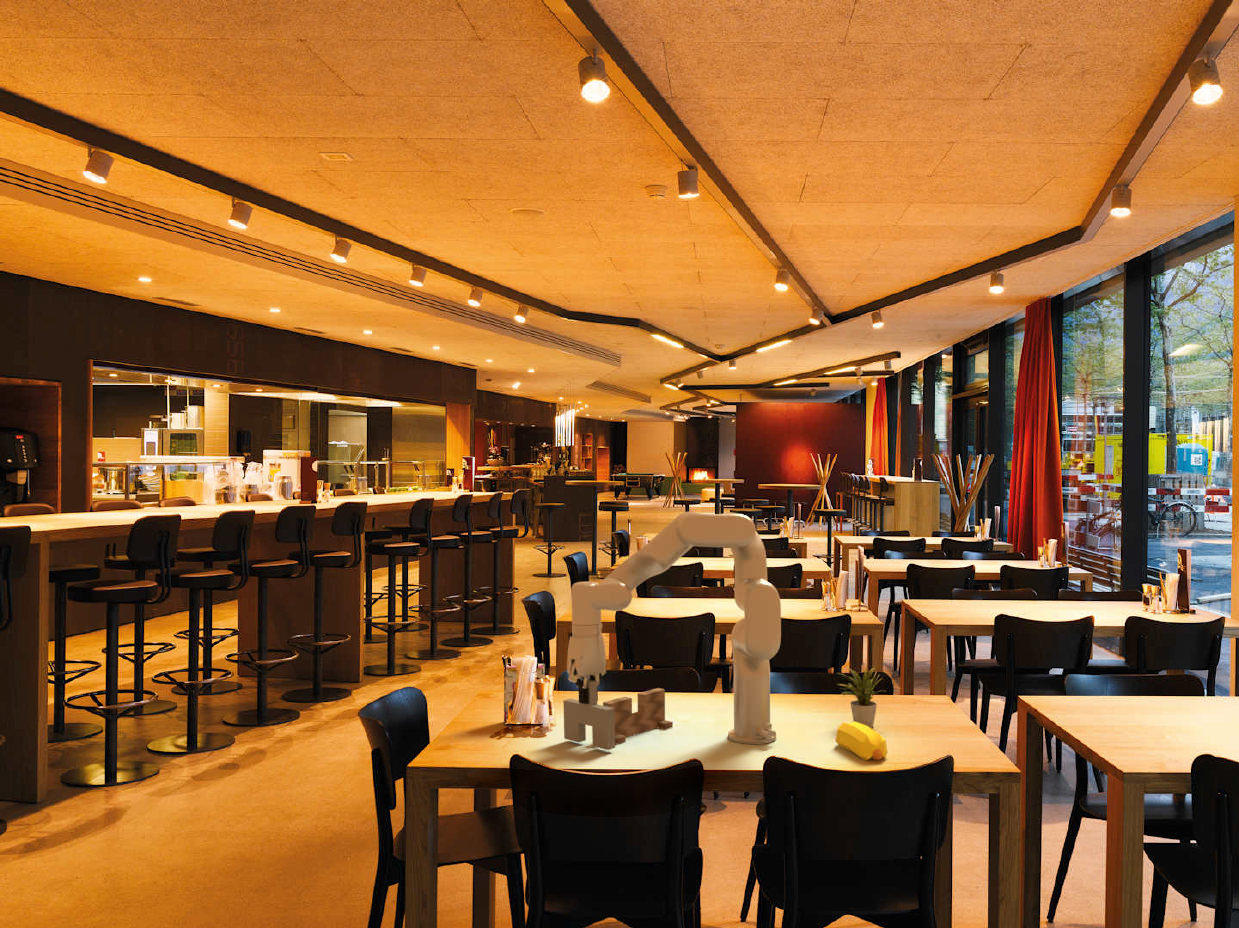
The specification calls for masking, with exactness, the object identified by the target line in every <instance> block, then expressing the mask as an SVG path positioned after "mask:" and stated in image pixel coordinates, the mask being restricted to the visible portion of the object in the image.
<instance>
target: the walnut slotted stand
mask: <svg viewBox="0 0 1239 928" xmlns="http://www.w3.org/2000/svg"><path fill="white" fill-rule="evenodd" d="M665 695H666V690H665V689H664V688H660V687H657V688H652V689H650V690H649V689H648V690H646V691H642V692H639V693H637V711H635V712H633V698H632V697H630V696H629V697H628V696H622V697H618V698H615V699H611V700H605V701H603V702H602V706H607V707H611V708H614V720H615V745H619V744H622V743H623V744H624V743H626V741H627V740H626V739H627V738H628V737H632V736H635V735H638V734H637V733H639V734H641V733H644V732H648V730H649V731H652V730H655V729H658V728H657V727H659V729H661V728H663V729H662V730H669V729H671V728H670V727H672V728H673V726H674V725H673V721H670V720H666V696H665ZM654 728H655V729H654ZM668 728H669V729H668ZM651 729H652V730H651ZM634 734H635V735H634Z"/></svg>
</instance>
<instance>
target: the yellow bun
mask: <svg viewBox="0 0 1239 928" xmlns="http://www.w3.org/2000/svg"><path fill="white" fill-rule="evenodd" d="M886 741H887V740H886V739H885V737H883V736H882V735H881V734H880V733H879V732H877V731H876V730H874V729H872V728H870V727H868V726H866V725H863V724H860V723H858V722H854V721H852V722H849V723H848V722H842V723H841V724H840V725H839V727H838V728H837V730H836V737H835V742H836V743H837V745H839V747H841V748H842V749H845V750H848V751H850V752H852V753H854V754H855V755H857V756H858V757H859V758H861V759H862V760H863V761H868V760H869V759H873V760H874V761H875V760H876V761H878V760H883V759H885V758H886V757H887V755H888V749H887V748H888V747H887V742H886Z"/></svg>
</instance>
